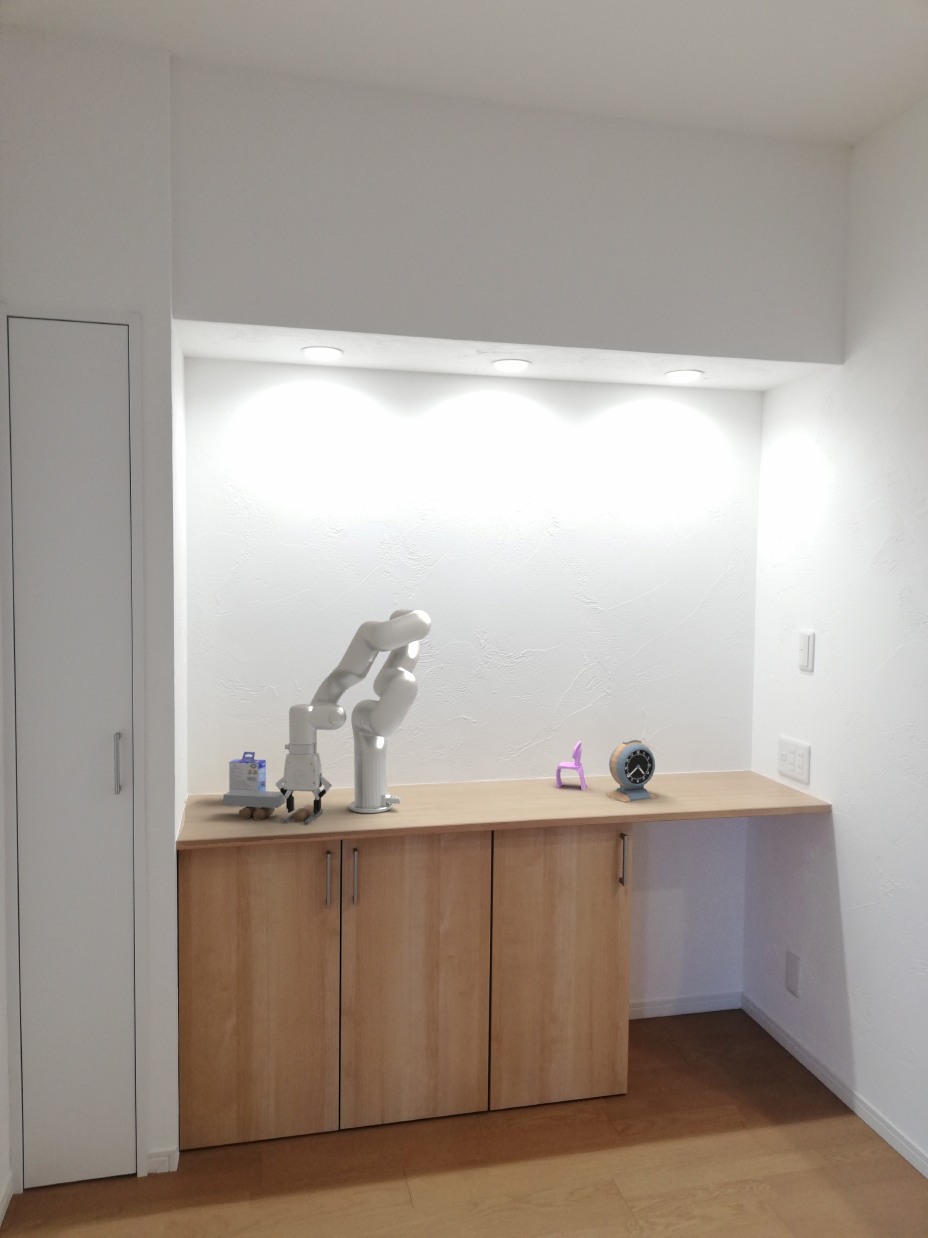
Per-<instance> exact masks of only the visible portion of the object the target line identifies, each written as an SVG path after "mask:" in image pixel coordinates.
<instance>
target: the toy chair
mask: <svg viewBox="0 0 928 1238" xmlns="http://www.w3.org/2000/svg"><path fill="white" fill-rule="evenodd" d="M581 746H582V740H579V741H578V742H577V743H576V745H575V746H574V748H573V754H572V759H573V760H574V762H570V761H562V762H560V764H558V765H557V769H555V778H556V779H555V781H556V789H560V788H561V786H563V782H562V781H563V780H562V777H561V771H562V770H563V769H565V770H574V771H577V772H578V776H579V781H580V786H581V787H580V789H581V791H584V790H585V789H586V787H587V783H586V779H585V773H584V772H585V771H584V766H583V763H582V762H581V759H582V751H583V750H582V749H581V748H582V747H581Z"/></svg>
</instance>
